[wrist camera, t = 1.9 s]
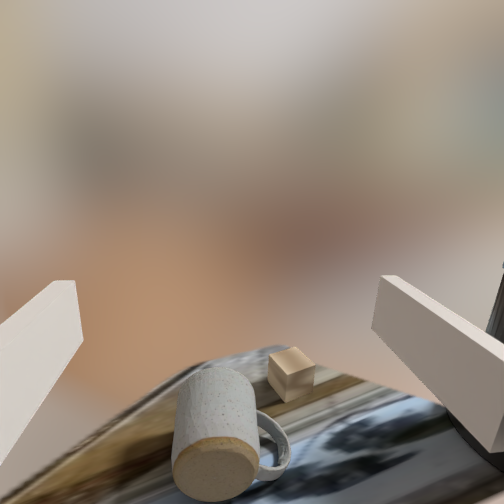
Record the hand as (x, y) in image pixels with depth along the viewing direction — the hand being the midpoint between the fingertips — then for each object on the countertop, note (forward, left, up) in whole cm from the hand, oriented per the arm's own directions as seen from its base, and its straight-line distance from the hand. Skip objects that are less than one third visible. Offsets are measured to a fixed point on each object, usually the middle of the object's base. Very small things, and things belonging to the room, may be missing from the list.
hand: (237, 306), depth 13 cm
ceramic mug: (-1, -10, -21) cm, 23 cm away
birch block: (-9, -18, -21) cm, 29 cm away
